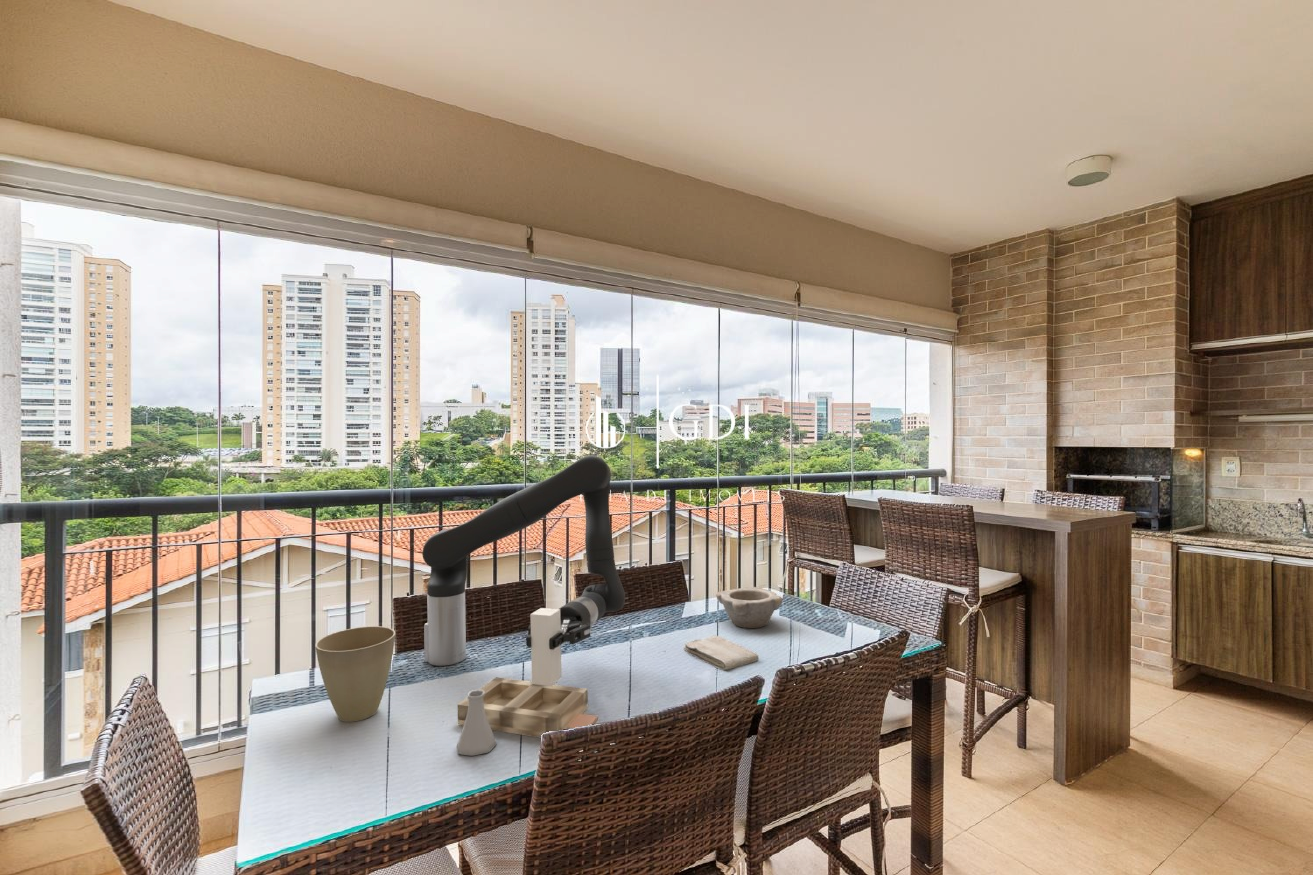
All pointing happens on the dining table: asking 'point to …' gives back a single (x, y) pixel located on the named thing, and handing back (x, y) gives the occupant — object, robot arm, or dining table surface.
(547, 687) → the socket block
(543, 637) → the plug peg
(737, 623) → the mortar
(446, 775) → the dining table surface
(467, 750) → the flask
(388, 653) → the plant pot
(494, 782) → the dining table surface
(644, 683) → the dining table surface
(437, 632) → the robot arm
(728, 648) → the washcloth
